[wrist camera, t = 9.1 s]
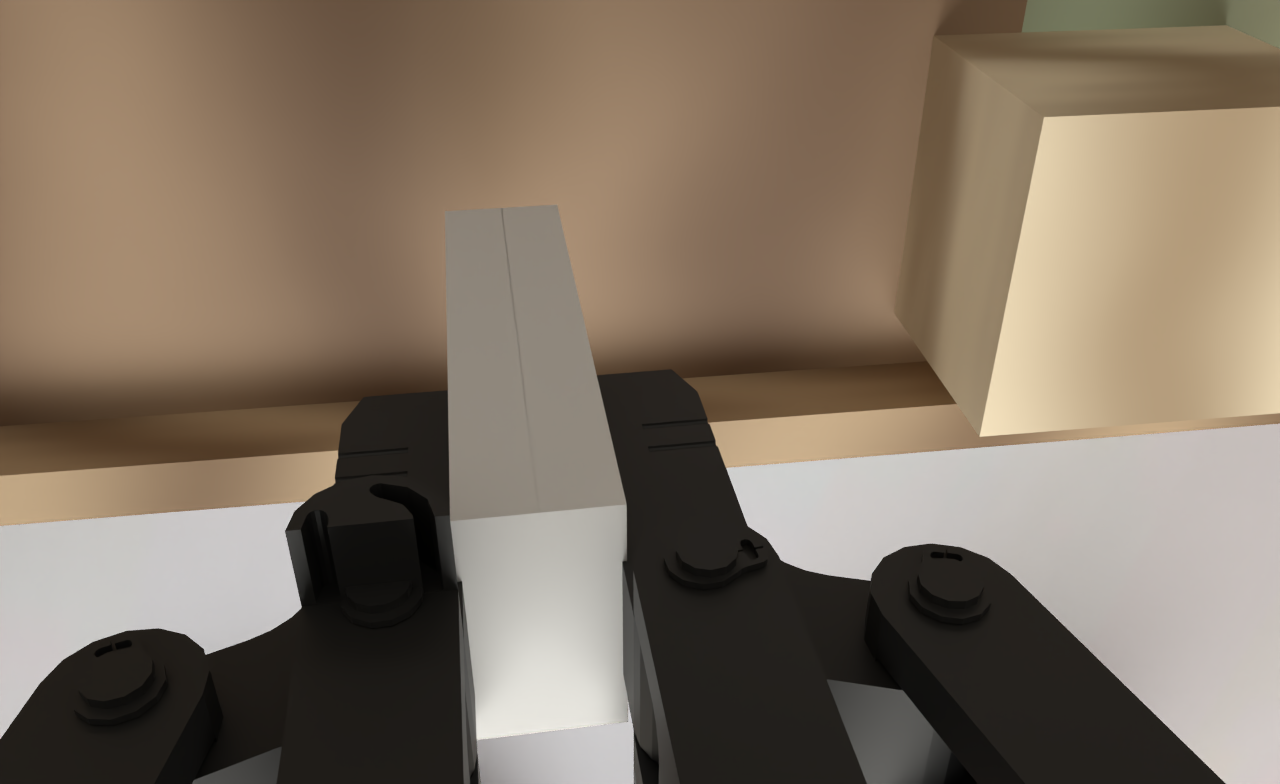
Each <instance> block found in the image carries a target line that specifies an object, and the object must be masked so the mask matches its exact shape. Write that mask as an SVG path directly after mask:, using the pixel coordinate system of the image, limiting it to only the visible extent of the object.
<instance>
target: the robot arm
mask: <svg viewBox="0 0 1280 784" xmlns="http://www.w3.org/2000/svg"><path fill="white" fill-rule="evenodd" d="M445 245H446V305H447V366H448V390H444V391H432V392H419V393H407V394H394V395H382V396H369V397H363V398H362V400H361V401H360V402H359V403H358V405H357V406H356V407H355V408H354V409H353V411H352V412H351V413H350V414H349V416H348V417H347V418H346V419H345V421H344V422H343V423H342V425H341V433H340V441H339V448H338V459H337V464H336V472H335V484H334V485H333V486H331V487H328V488H326V489H324V490H322V491H320V492H318V493H315V494H314V495H313V496H312V497H310V498H309V499H308V500H307V501H306V502H305V503H304V504H302V505H301V506H300V507H299V508H298V509H297V510H296V511H295V512H294V514H293V516H292V518H291V520H290V522H289V524H288V526H287V528H286V530H285V533H286V537H287V542H288V546H289V551H290V555H291V560H292V564H293V569H294V574H295V578H296V583H297V587H298V592H299V596H300V601H301V605H302V608H301V609H300V610H299V611H298V612H297V613H296V614H295V615H294V616H293V617H292V618H290V619H289V620H287V621H285V622H284V623H282V624H281V625H279V626H278V627H276V628H274V629H273V630H271V631H269V632H267V633H264V634H262V635H260V636H257V637H255V638H253V639H250V640H248V641H245V642H242V643H239V644H236V645H233V646H230V647H228V648H225V649H222V650H219V651H216V652H213V653H210V654H207V655H205V653H204V649H203V648H202V647H200V646H199V645H198V644H197V643H195V642H194V641H193V640H192V639H190V638H189V637H188V636H186V635H185V634H180V633H176V632H172V631H167V630H163V629H146V630H133V631H125V632H122V633H119V634H116V635H113V636H110V637H107V638H104V639H101V640H98V641H95V642H92V643H91V644H89V645H87V646H86V647H84V648H82V649H81V650H79V651H77V652H76V653H74V654H72V655H71V656H69V657H67V658H66V659H64V660H63V661H62V662H61V663H60V664H59V665H58V666H57V667H56V668H55V669H54V670H53V671H52V672H51V673H50V674H49V675H48V676H47V677H46V678H45V679H44V680H43V681H42V682H41V683H40V684H39V686H38V687H37V689H36V690H35V691H34V693H33V694H32V696H31V697H30V698H29V700H28V701H27V703H26V704H25V705H24V707H23V708H22V710H21V711H20V712H19V714H18V715H17V717H16V718H15V719H14V721H13V722H12V724H11V725H10V726H9V728H8V729H7V731H6V732H5V734H4V735H3V736H2V738H1V739H0V784H481V781H480V773H479V764H478V755H477V740H482V739H490V738H499V737H507V736H515V735H523V734H532V733H540V732H548V731H556V730H565V729H573V728H581V727H589V726H598V725H606V724H614V723H623V722H628V702H629V707H630V712H631V718H632V723H633V728H634V784H1225V783H1224V782H1223V781H1222V780H1221V779H1220V778H1219V777H1218V776H1217V775H1216V774H1215V773H1214V772H1213V771H1212V770H1211V769H1210V768H1209V767H1208V766H1207V765H1206V764H1205V763H1204V762H1203V761H1202V760H1201V759H1200V758H1199V757H1198V756H1197V755H1196V754H1195V753H1194V752H1193V751H1192V750H1191V749H1190V748H1188V747H1187V746H1186V745H1185V744H1184V743H1183V742H1182V741H1181V740H1180V739H1179V738H1178V737H1177V736H1176V735H1175V734H1174V733H1173V732H1172V731H1171V730H1170V729H1169V728H1168V727H1167V726H1166V725H1165V724H1164V723H1163V722H1162V721H1161V720H1160V719H1159V718H1158V717H1157V716H1156V715H1155V714H1154V713H1153V712H1152V711H1151V710H1150V709H1149V708H1147V707H1146V706H1145V705H1144V704H1143V703H1142V702H1141V701H1140V700H1139V699H1138V698H1137V697H1136V696H1135V695H1134V694H1133V693H1132V692H1131V691H1130V690H1129V689H1128V688H1127V687H1126V686H1125V685H1124V684H1123V683H1122V682H1121V681H1120V680H1119V679H1118V678H1117V677H1116V676H1115V675H1114V674H1113V673H1112V672H1111V671H1110V670H1109V669H1108V668H1106V667H1105V666H1104V665H1103V664H1102V663H1101V662H1100V661H1099V660H1098V659H1097V658H1096V657H1095V656H1094V655H1093V654H1092V653H1091V652H1090V651H1089V650H1088V649H1087V648H1086V647H1085V646H1084V645H1083V644H1082V643H1081V642H1080V641H1079V640H1078V639H1077V638H1076V637H1075V636H1074V635H1073V634H1072V633H1071V632H1070V631H1069V630H1068V629H1067V628H1065V627H1064V626H1063V625H1062V624H1061V623H1060V622H1059V621H1058V620H1057V619H1056V618H1055V617H1054V616H1053V615H1052V614H1051V613H1050V612H1049V611H1048V610H1047V609H1046V608H1045V607H1044V606H1043V605H1042V604H1041V603H1040V602H1039V601H1038V600H1037V599H1036V598H1035V597H1034V596H1033V595H1032V594H1031V593H1030V592H1029V591H1028V590H1027V589H1026V588H1024V587H1023V586H1022V585H1021V584H1020V583H1019V582H1018V581H1017V580H1016V579H1015V578H1014V577H1013V576H1012V575H1011V574H1010V573H1009V572H1007V571H1006V570H1004V569H1003V568H1002V567H1000V566H999V565H997V564H996V563H995V562H993V561H992V560H990V559H989V558H987V557H985V556H982V555H979V554H977V553H974V552H971V551H969V550H966V549H963V548H961V547H954V546H946V545H938V544H924V545H917V546H909V547H904V548H902V549H900V550H898V551H896V552H894V553H892V554H890V555H888V556H886V557H884V558H883V559H882V561H881V562H880V563H879V565H878V566H877V568H876V569H875V570H874V572H873V573H872V577H871V581H867V580H859V579H852V578H844V577H836V576H829V575H823V574H819V573H814V572H809V571H805V570H802V569H800V568H797V567H795V566H792V565H790V564H787V563H784V562H783V561H781V560H780V558H779V556H778V554H777V553H776V552H775V550H774V549H773V547H772V546H771V545H770V543H769V542H768V540H767V539H766V538H765V537H763V536H762V535H760V534H758V533H757V532H755V531H754V530H752V529H751V528H749V527H748V526H747V524H746V521H745V518H744V516H743V513H742V510H741V508H740V505H739V502H738V500H737V497H736V494H735V491H734V489H733V486H732V483H731V481H730V478H729V475H728V472H727V470H726V467H725V464H724V462H723V459H722V456H721V453H720V451H719V448H718V446H716V440H715V437H714V435H713V432H712V429H711V426H710V424H708V418H707V416H706V413H705V410H704V407H703V405H702V402H701V399H700V397H699V394H698V391H696V390H695V389H694V388H693V387H692V386H691V385H689V384H688V383H687V382H686V381H685V380H683V379H682V378H681V377H680V376H679V375H678V374H676V373H675V372H674V371H673V370H672V369H668V370H656V371H643V372H631V373H618V374H606V375H597V374H596V370H595V366H594V362H593V357H592V353H591V349H590V344H589V340H588V336H587V331H586V327H585V323H584V318H583V314H582V310H581V306H580V301H579V297H578V293H577V288H576V284H575V280H574V275H573V271H572V267H571V262H570V258H569V254H568V250H567V245H566V241H565V237H564V232H563V228H562V224H561V219H560V215H559V211H558V206H557V205H543V206H526V207H509V208H493V209H476V210H459V211H445Z"/></svg>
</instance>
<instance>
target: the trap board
mask: <svg viewBox="0 0 1280 784" xmlns="http://www.w3.org/2000/svg"><path fill="white" fill-rule="evenodd" d="M1220 25H1227V26H1229V27H1231V28H1234V29H1236V30H1238V31H1241V32H1243V33H1245V34H1247V35H1250V36H1252V37H1254V38H1256V39H1259V40H1261V41H1263V42H1265V43H1268V44H1270V45H1272V46H1275V47H1277V48H1279V49H1280V0H0V526H4V525H16V524H29V523H41V522H54V521H66V520H79V519H91V518H104V517H116V516H129V515H141V514H154V513H166V512H179V511H191V510H204V509H216V508H229V507H241V506H254V505H266V504H279V503H291V502H304V501H307V500H308V499H309V498H310V497H312V496H313V495H314V494H315V493H318V492H320V491H322V490H324V489H326V488H328V487H331V486H333V485H334V484H335V472H336V464H337V459H338V448H339V441H340V433H341V425H342V423H343V422H344V421H345V419H346V418H347V417H348V416H349V414H350V413H351V412H352V411H353V409H354V408H355V407H356V406H357V405H358V403H359V402H360V401H361V400H362V398H363V397H369V396H382V395H394V394H407V393H419V392H432V391H444V390H448V366H447V305H446V245H445V211H459V210H476V209H493V208H509V207H526V206H543V205H557V206H558V211H559V215H560V219H561V224H562V228H563V232H564V237H565V241H566V245H567V250H568V254H569V258H570V262H571V267H572V271H573V275H574V280H575V284H576V288H577V293H578V297H579V301H580V306H581V310H582V314H583V318H584V323H585V327H586V331H587V336H588V340H589V344H590V349H591V353H592V357H593V362H594V366H595V370H596V374H597V375H606V374H618V373H631V372H643V371H656V370H668V369H672V370H673V371H674V372H675V373H676V374H678V375H679V376H680V377H681V378H682V379H683V380H685V381H686V382H687V383H688V384H689V385H691V386H692V387H693V388H694V389H695V390H696V391H698V394H699V397H700V399H701V402H702V405H703V407H704V410H705V413H706V416H707V418H708V424H710V426H711V429H712V432H713V435H714V437H715V440H716V446H718V448H719V451H720V453H721V456H722V459H723V462H724V464H725V467H726V468H729V467H741V466H754V465H766V464H779V463H791V462H804V461H816V460H829V459H841V458H854V457H866V456H879V455H891V454H904V453H916V452H929V451H941V450H954V449H966V448H979V447H991V446H1004V445H1016V444H1029V443H1041V442H1054V441H1066V440H1079V439H1091V438H1104V437H1116V436H1129V435H1141V434H1154V433H1166V432H1179V431H1191V430H1204V429H1216V428H1229V427H1241V426H1254V425H1266V424H1279V423H1280V413H1276V414H1263V415H1251V416H1238V417H1225V418H1213V419H1200V420H1187V421H1174V422H1162V423H1149V424H1136V425H1124V426H1111V427H1098V428H1085V429H1073V430H1060V431H1047V432H1034V433H1022V434H1009V435H996V436H984V437H979V435H978V434H977V432H976V431H975V430H974V428H973V427H972V425H971V424H970V422H969V421H968V419H967V418H966V416H965V415H964V414H963V412H962V411H961V409H960V408H959V406H958V405H957V403H956V402H955V401H954V399H953V398H952V396H951V395H950V393H949V392H948V390H947V389H946V387H945V386H944V385H943V383H942V382H941V380H940V379H939V377H938V376H937V374H936V373H935V372H934V370H933V369H932V367H931V366H930V364H929V363H928V361H927V360H926V359H925V357H924V356H923V354H922V353H921V351H920V350H919V348H918V347H917V345H916V344H915V343H914V341H913V340H912V338H911V337H910V335H909V334H908V332H907V331H906V330H905V328H904V327H903V325H902V324H901V322H900V321H899V319H898V318H897V317H896V315H895V314H894V312H895V305H896V297H897V290H898V283H899V276H900V269H901V262H902V255H903V248H904V241H905V234H906V227H907V220H908V212H909V205H910V198H911V191H912V184H913V177H914V170H915V163H916V156H917V149H918V142H919V135H920V128H921V120H922V113H923V106H924V99H925V92H926V85H927V78H928V71H929V64H930V57H931V50H932V43H933V36H936V35H965V34H993V33H1021V32H1050V31H1078V30H1106V29H1135V28H1163V27H1191V26H1220Z"/></svg>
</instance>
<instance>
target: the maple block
mask: <svg viewBox="0 0 1280 784" xmlns="http://www.w3.org/2000/svg"><path fill="white" fill-rule="evenodd" d="M894 314H895V315H896V317H897V318H898V319H899V321H900V322H901V324H902V325H903V327H904V328H905V330H906V331H907V332H908V334H909V335H910V337H911V338H912V340H913V341H914V343H915V344H916V345H917V347H918V348H919V350H920V351H921V353H922V354H923V356H924V357H925V359H926V360H927V361H928V363H929V364H930V366H931V367H932V369H933V370H934V372H935V373H936V374H937V376H938V377H939V379H940V380H941V382H942V383H943V385H944V386H945V387H946V389H947V390H948V392H949V393H950V395H951V396H952V398H953V399H954V401H955V402H956V403H957V405H958V406H959V408H960V409H961V411H962V412H963V414H964V415H965V416H966V418H967V419H968V421H969V422H970V424H971V425H972V427H973V428H974V430H975V431H976V432H977V434H978V435H979V437H984V436H996V435H1009V434H1022V433H1034V432H1047V431H1060V430H1073V429H1085V428H1098V427H1111V426H1124V425H1136V424H1149V423H1162V422H1174V421H1187V420H1200V419H1213V418H1225V417H1238V416H1251V415H1263V414H1276V413H1280V49H1279V48H1277V47H1275V46H1272V45H1270V44H1268V43H1265V42H1263V41H1261V40H1259V39H1256V38H1254V37H1252V36H1250V35H1247V34H1245V33H1243V32H1241V31H1238V30H1236V29H1234V28H1231V27H1229V26H1227V25H1220V26H1191V27H1163V28H1135V29H1106V30H1078V31H1050V32H1021V33H993V34H965V35H936V36H933V43H932V50H931V57H930V64H929V71H928V78H927V85H926V92H925V99H924V106H923V113H922V120H921V128H920V135H919V142H918V149H917V156H916V163H915V170H914V177H913V184H912V191H911V198H910V205H909V212H908V220H907V227H906V234H905V241H904V248H903V255H902V262H901V269H900V276H899V283H898V290H897V297H896V305H895V312H894Z"/></svg>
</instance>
